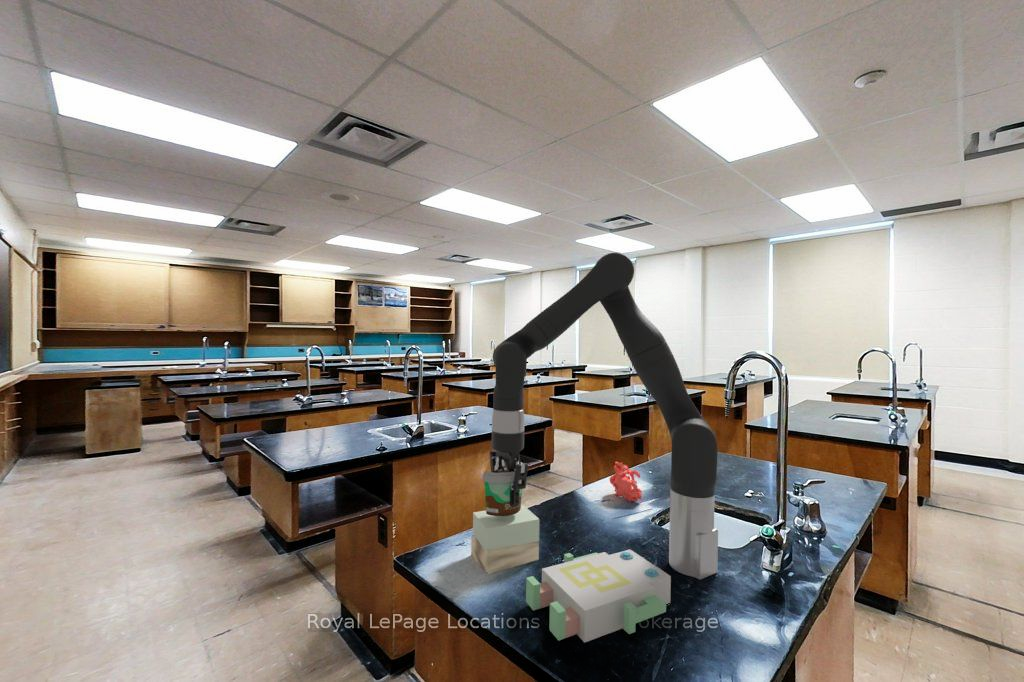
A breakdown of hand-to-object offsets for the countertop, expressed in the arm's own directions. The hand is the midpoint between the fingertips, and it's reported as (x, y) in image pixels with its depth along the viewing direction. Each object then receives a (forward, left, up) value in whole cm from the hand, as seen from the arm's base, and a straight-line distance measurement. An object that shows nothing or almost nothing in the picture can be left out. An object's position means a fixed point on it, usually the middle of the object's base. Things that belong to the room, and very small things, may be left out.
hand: (507, 500), depth 98 cm
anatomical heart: (+14, -52, -14) cm, 56 cm away
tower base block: (+1, 0, -14) cm, 14 cm away
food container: (-1, 0, -2) cm, 2 cm away
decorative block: (-23, -7, -14) cm, 28 cm away
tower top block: (+1, 0, -9) cm, 9 cm away
